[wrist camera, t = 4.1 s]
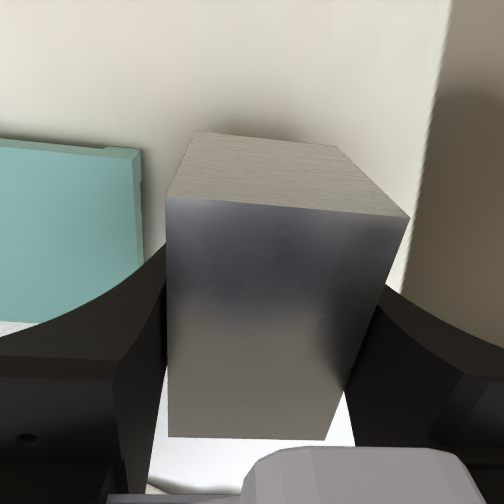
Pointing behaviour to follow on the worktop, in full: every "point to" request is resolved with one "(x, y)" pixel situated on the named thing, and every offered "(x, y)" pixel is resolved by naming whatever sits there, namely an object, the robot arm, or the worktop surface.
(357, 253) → the block
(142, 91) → the worktop surface
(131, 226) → the stand
